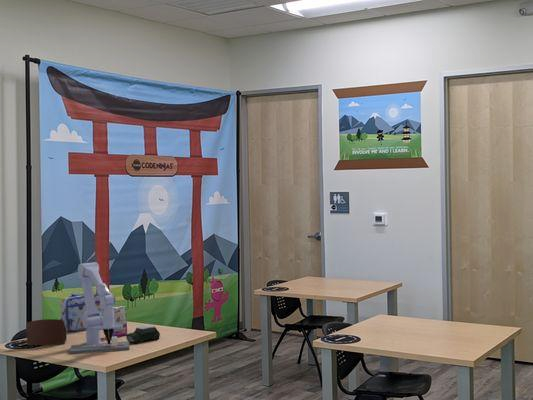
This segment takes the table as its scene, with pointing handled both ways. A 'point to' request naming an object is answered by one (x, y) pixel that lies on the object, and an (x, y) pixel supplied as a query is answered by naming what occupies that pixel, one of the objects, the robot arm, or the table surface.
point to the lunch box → (76, 311)
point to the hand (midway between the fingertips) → (109, 343)
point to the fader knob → (114, 341)
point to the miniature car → (143, 334)
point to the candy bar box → (120, 321)
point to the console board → (98, 347)
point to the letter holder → (46, 332)
